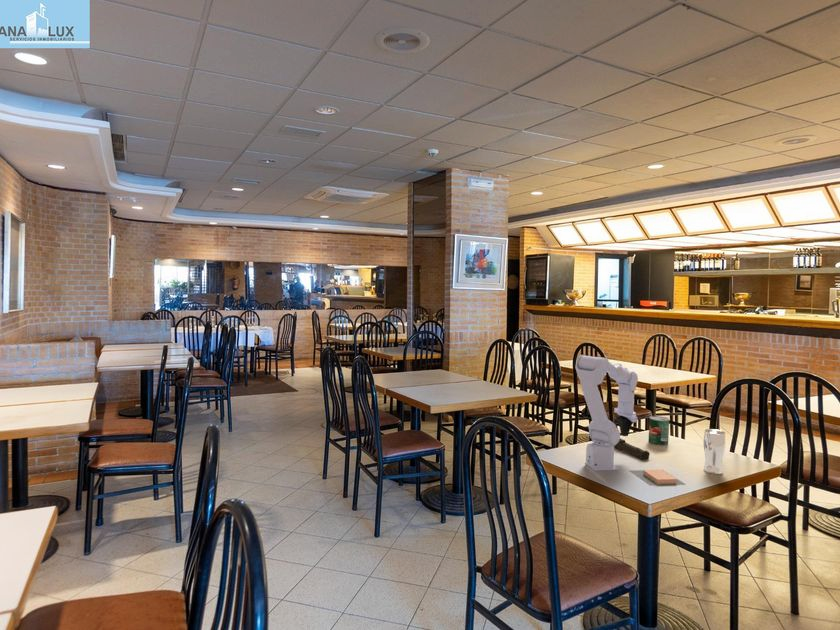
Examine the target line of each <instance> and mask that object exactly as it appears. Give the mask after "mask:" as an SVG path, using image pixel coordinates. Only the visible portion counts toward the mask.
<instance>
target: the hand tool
mask: <svg viewBox="0 0 840 630" xmlns="http://www.w3.org/2000/svg"><path fill="white" fill-rule="evenodd" d="M614 449H617V450H618V451H624V452H626V453H629V454H630V455H632V456H635V458H636V457H637V458H638V459H640V460H641V461H647V460H649V459H650V455H651V454H650V452H649V451H648V450H644V449H642V448H640V447H636V446H635V445H632V444H630V443H627V442H626V440H625V439H623V438H621V437H620V440H619V442H618V443H617V444H616V445H614Z"/></svg>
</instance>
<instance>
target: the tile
mask: <svg viewBox="0 0 840 630" xmlns="http://www.w3.org/2000/svg"><path fill="white" fill-rule="evenodd" d="M642 470H643V474H644V475H645V476H646V477H648V478H649V479H651V480H652V481H654V482H655V483H657V484H676V483H677V479H678V478H677V477H675V476H673V475H672V474H670V473H669V472H667V471H665V470H664V469H642ZM663 470H664V471H663ZM666 472H667V473H666ZM668 473H669V474H668ZM671 475H672V476H671ZM674 477H675V478H674ZM676 478H677V479H676Z"/></svg>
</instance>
